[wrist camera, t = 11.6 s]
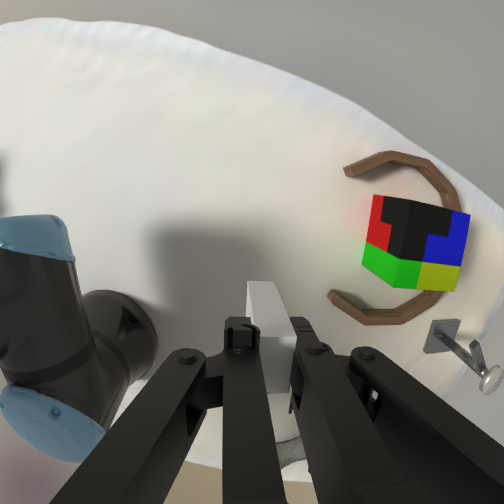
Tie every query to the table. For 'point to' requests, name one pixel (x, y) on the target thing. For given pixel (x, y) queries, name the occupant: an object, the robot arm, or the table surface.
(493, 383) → the dial gauge stand
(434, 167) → the rim
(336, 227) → the table surface
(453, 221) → the puzzle toy
